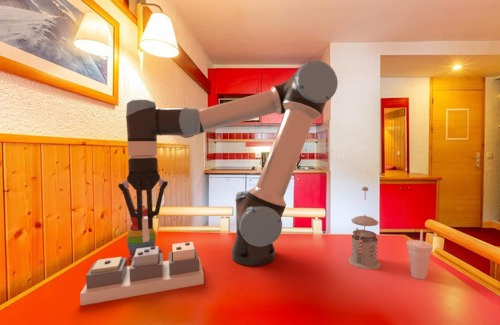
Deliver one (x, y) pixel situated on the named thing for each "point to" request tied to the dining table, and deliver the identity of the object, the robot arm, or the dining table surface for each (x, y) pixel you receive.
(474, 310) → the dining table surface
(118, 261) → the button one dot
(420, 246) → the smoothie
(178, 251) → the button two dot
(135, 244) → the stacking bear
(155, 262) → the button three dot
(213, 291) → the dining table surface
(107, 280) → the button panel
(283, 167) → the robot arm
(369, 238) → the french press
